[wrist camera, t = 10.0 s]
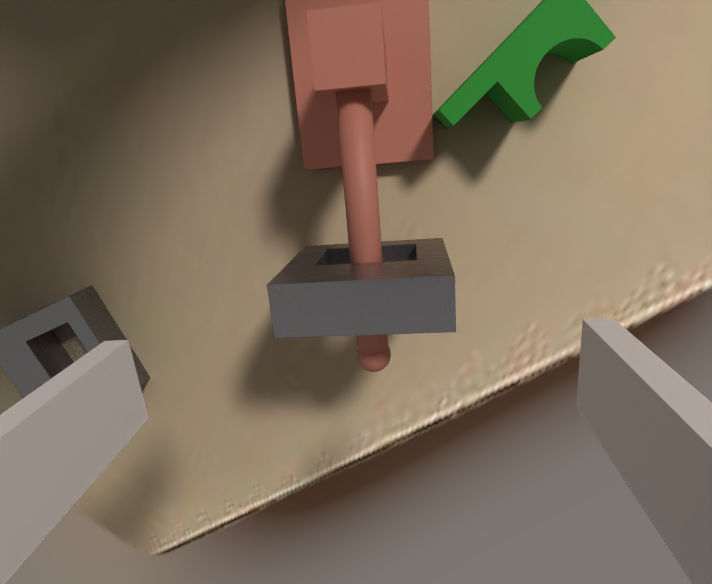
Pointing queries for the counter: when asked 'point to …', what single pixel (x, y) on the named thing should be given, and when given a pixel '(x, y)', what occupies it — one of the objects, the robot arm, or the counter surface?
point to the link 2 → (365, 292)
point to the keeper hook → (362, 107)
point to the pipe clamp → (528, 59)
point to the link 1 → (56, 340)
